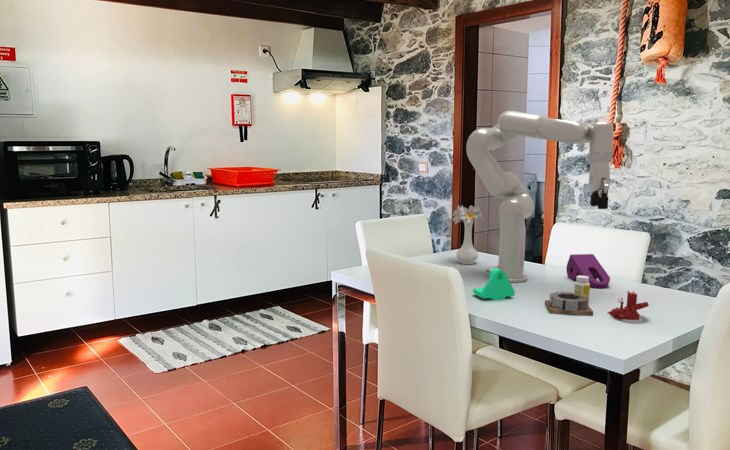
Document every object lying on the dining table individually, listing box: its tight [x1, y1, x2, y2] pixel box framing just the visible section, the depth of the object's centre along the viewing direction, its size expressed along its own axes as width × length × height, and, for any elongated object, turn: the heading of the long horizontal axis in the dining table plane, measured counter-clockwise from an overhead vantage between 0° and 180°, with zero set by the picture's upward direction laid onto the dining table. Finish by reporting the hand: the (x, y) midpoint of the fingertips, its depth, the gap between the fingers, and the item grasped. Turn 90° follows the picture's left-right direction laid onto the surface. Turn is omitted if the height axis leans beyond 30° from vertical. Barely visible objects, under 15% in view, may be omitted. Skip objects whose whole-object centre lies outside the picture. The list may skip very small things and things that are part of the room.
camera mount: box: [472, 267, 516, 301], centre depth 208 cm, size 12×8×10 cm, turn 108°
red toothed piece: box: [607, 290, 650, 321], centre depth 187 cm, size 11×12×8 cm
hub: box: [548, 291, 590, 311], centre depth 194 cm, size 11×11×4 cm
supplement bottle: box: [573, 275, 591, 300], centre depth 204 cm, size 5×5×8 cm
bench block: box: [544, 299, 594, 317], centre depth 194 cm, size 13×11×1 cm
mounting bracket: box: [566, 253, 611, 289], centre depth 231 cm, size 9×8×18 cm
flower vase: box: [451, 205, 485, 265], centre depth 261 cm, size 13×18×25 cm
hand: (598, 207), depth 214 cm, fingers open, 9 cm apart
